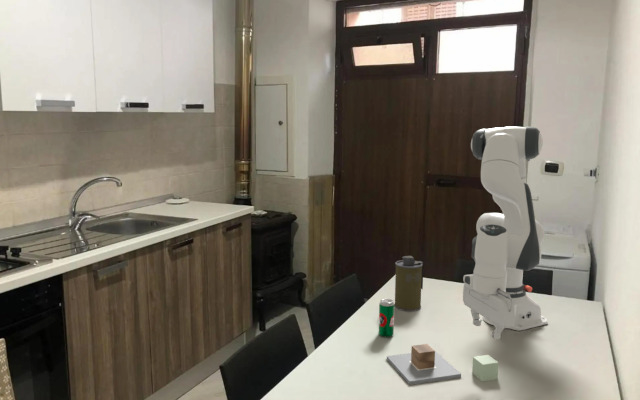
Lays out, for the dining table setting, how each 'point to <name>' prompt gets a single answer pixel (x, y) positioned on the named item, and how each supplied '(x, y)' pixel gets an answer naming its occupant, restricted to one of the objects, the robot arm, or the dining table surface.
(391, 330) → the soda can
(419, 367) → the walnut brick
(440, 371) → the board
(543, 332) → the dining table surface
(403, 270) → the canister
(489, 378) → the sage brick
